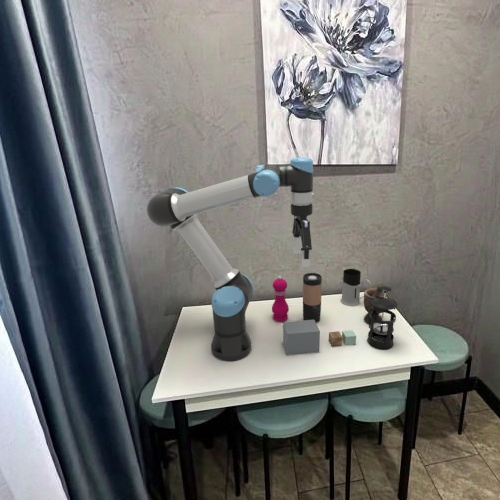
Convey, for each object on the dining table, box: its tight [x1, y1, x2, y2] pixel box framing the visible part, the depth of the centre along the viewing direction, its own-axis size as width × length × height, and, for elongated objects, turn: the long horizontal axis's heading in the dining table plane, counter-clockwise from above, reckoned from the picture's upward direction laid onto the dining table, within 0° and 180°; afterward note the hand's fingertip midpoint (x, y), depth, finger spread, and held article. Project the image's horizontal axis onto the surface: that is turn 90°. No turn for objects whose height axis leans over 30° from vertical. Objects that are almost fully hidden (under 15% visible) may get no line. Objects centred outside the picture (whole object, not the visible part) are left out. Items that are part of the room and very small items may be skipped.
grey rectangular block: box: [282, 320, 321, 356], centre depth 132 cm, size 12×8×9 cm, turn 95°
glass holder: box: [340, 268, 372, 307], centre depth 160 cm, size 9×14×15 cm, turn 40°
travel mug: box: [302, 272, 323, 324], centre depth 148 cm, size 8×8×20 cm
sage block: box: [341, 329, 357, 347], centre depth 135 cm, size 4×4×4 cm
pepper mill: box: [271, 275, 290, 323], centre depth 150 cm, size 7×7×20 cm
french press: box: [366, 285, 398, 351], centre depth 131 cm, size 12×9×23 cm
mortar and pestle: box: [363, 283, 387, 324], centre depth 144 cm, size 12×9×20 cm
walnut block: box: [328, 331, 343, 348], centre depth 134 cm, size 4×4×4 cm
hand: (301, 259), depth 131 cm, fingers open, 13 cm apart
